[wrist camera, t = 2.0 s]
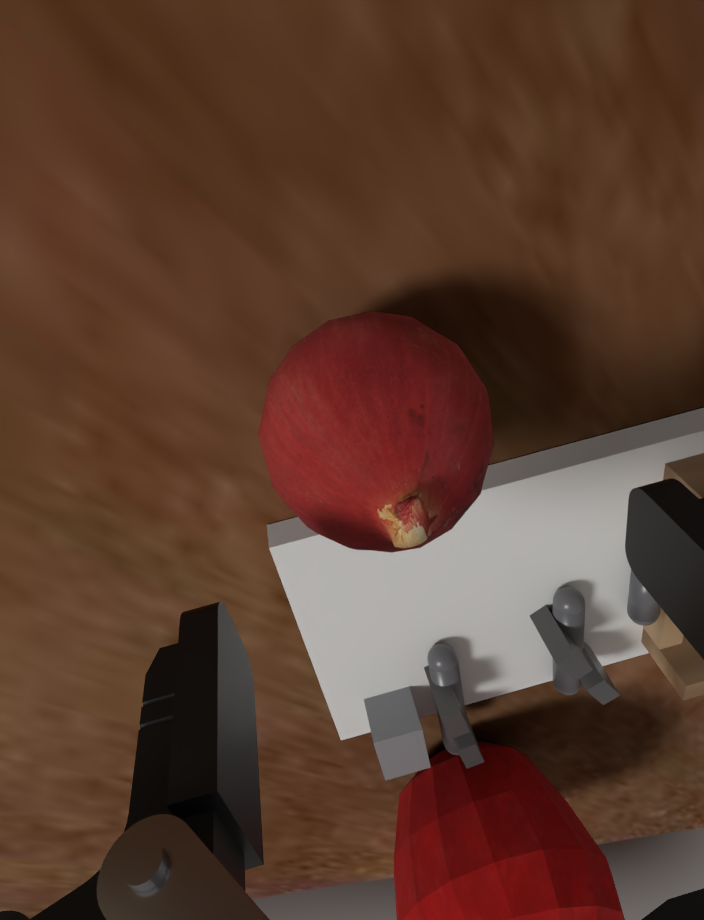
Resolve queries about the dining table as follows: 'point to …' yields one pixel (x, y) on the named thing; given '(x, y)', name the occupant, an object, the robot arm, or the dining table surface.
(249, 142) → the dining table surface
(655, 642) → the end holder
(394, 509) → the onion
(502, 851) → the apple
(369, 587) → the board
